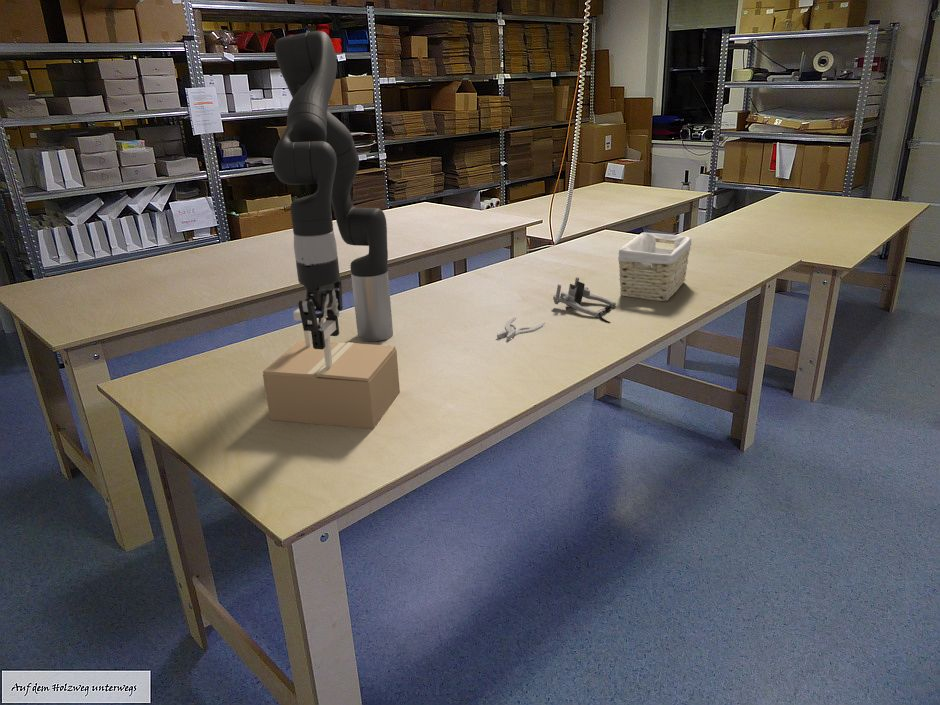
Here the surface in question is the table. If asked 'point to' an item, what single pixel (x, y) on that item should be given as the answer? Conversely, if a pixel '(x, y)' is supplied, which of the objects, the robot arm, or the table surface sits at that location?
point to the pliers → (512, 332)
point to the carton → (326, 389)
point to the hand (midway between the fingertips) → (326, 341)
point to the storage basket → (653, 266)
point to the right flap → (352, 358)
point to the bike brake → (575, 299)
